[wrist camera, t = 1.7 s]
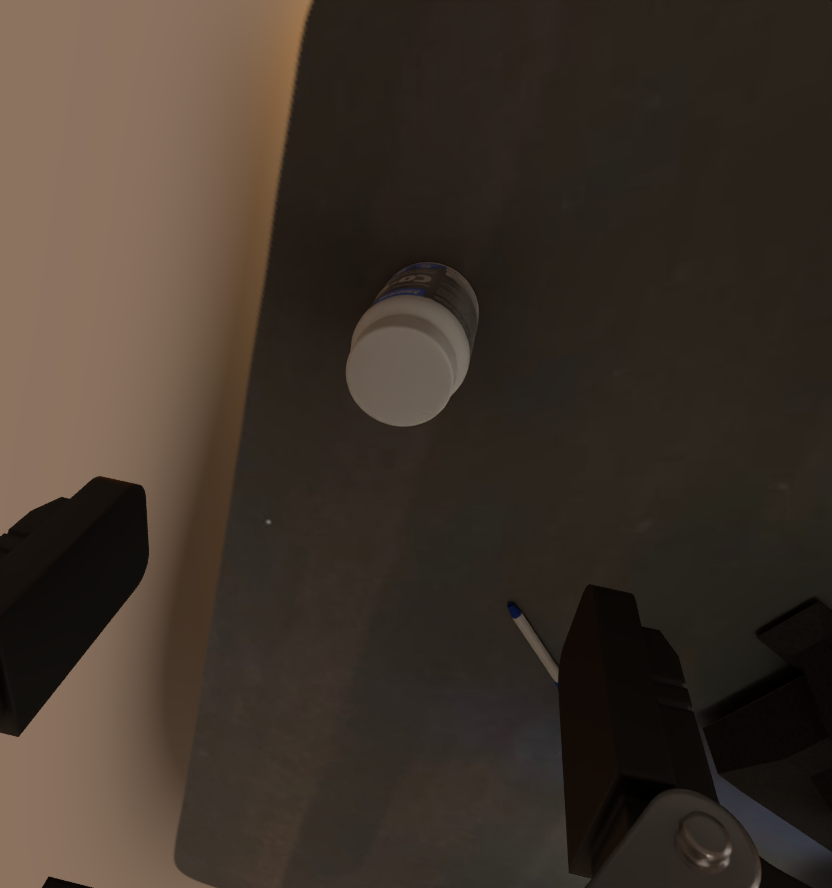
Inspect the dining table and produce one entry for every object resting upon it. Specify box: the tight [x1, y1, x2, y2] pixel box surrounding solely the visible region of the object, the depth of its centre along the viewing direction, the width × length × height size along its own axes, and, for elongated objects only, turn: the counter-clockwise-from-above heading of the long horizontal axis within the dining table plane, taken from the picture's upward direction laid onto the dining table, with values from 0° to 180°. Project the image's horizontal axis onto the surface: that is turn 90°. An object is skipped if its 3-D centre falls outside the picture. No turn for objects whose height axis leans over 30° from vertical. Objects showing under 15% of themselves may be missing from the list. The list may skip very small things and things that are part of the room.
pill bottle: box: [346, 262, 479, 426], centre depth 27 cm, size 5×5×8 cm
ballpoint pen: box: [507, 603, 559, 687], centre depth 40 cm, size 10×1×1 cm, turn 33°
